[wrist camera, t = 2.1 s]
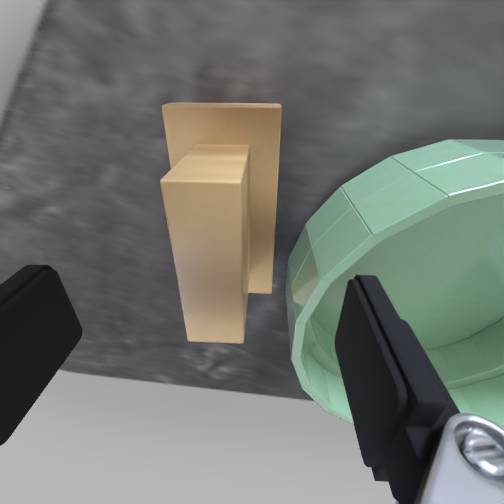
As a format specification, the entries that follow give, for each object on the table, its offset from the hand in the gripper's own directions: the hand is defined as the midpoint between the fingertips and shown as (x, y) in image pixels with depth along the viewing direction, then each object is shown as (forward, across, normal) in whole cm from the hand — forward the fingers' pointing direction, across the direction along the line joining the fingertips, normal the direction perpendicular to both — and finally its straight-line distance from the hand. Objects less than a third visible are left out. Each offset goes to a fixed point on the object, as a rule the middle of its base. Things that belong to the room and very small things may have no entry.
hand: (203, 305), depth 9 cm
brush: (+8, 0, 0) cm, 9 cm away
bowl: (+9, -12, +4) cm, 15 cm away
